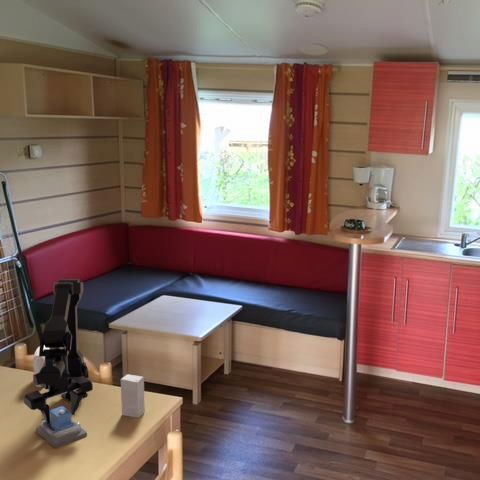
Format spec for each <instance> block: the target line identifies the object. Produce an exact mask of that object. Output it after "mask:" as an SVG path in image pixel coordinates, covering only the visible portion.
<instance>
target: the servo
mask: <svg viewBox="0 0 480 480" xmlns="http://www.w3.org/2000/svg"><path fill="white" fill-rule="evenodd" d="M71 420H72V414H71V410H70V411H69V409H68V408H66V407H64V406H63V405H61V406H59V407H55V408H52V409H50V423H51V430H52V431H56V430H58V429H60V430H62V429H65V428H68V427H70V426H73V425H74V423H73V422H71Z"/></svg>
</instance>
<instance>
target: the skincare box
mask: <svg viewBox="0 0 480 480" xmlns="http://www.w3.org/2000/svg"><path fill="white" fill-rule="evenodd" d="M120 399H121V415H122V416H127V417H131V418H136V419H139V418H140V417H141V416H142V415H143V414H145V412H146V410H145V409H146V408H145V406H146V404H145V380H144V376H142V375H141V376H140V375H134V374H128V373H127V374H125V375H124V376H123V377H122V378H120Z"/></svg>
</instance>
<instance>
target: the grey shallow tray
mask: <svg viewBox="0 0 480 480" xmlns="http://www.w3.org/2000/svg"><path fill="white" fill-rule="evenodd" d="M71 422H73V423H74V425H73V426H70V427H68V428H65V429H62V430H60V429H58V430H56V431H52V430H51V423H49V424H47V423H46V421H45V419H43V420H40V423H41V424H40V426H37V427H35V432H36V433H37V434H38V435H40V436H41V437H42V438H43V439H44V440H45V441H46V442H47V443H48V444H49V445H50V446H52V448H53V449H57V448H58V447H61V446H63V445H66V444H68V443H71V442H74V441H76V440H79V439H82V438H84V437H86V436H87V437H88V433H87V431H86V430H85V429H83V428H82V423H80V421H79V422H78V421H77V422H75V421H74V420H72V419H71Z"/></svg>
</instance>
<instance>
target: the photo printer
mask: <svg viewBox="0 0 480 480" xmlns="http://www.w3.org/2000/svg"><path fill="white" fill-rule="evenodd" d="M39 349H40V345H39V346H38V347H37V348H36V350H34V351H35V352H34V354H33V356H32V366H33V367H32V368H33V375H34V374H37V373H39V372H40V370H41V368H42V366H43V364H44V362H45V356H43V357H39ZM44 349H51V348H46V347H45V344H44ZM44 349H43V350H44ZM34 387H36V388H44V387H43V386H42V387H41V385H34Z"/></svg>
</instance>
